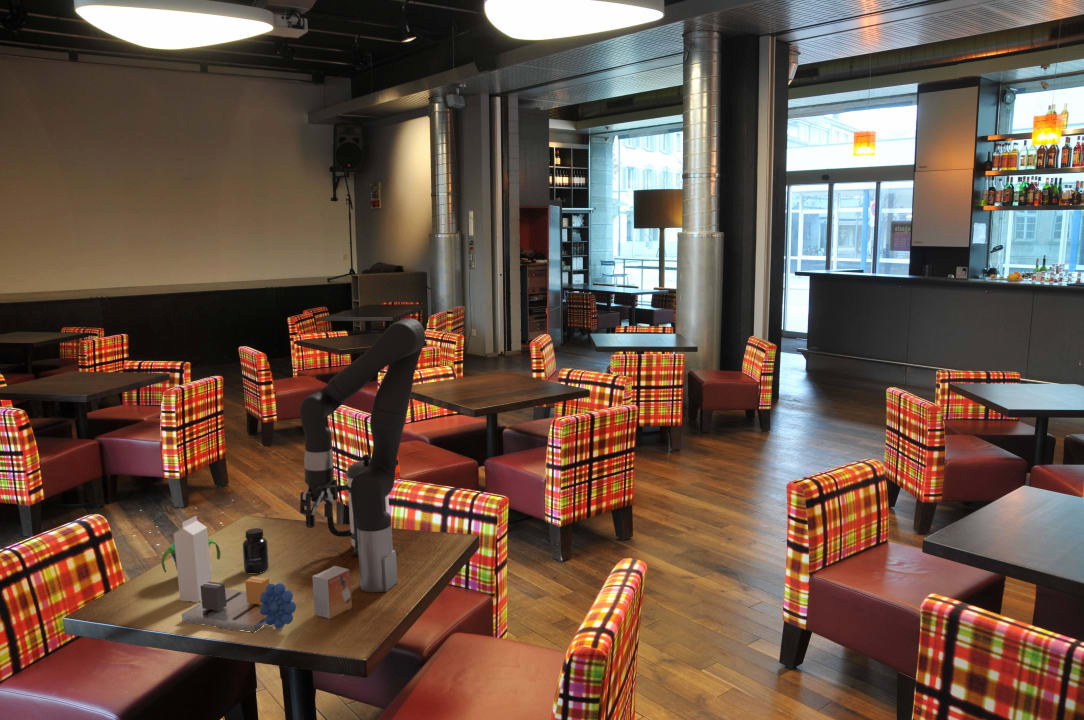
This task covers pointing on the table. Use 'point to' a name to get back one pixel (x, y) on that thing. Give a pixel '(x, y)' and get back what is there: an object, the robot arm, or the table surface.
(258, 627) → the console
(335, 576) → the small box
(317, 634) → the table surface
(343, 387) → the robot arm
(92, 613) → the table surface
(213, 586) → the block
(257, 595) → the orange fader
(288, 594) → the grapes
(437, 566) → the table surface
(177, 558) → the milk
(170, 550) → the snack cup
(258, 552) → the supplement bottle
